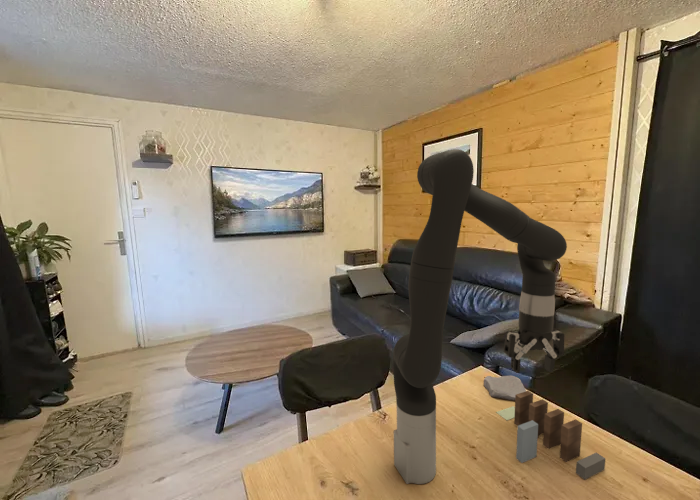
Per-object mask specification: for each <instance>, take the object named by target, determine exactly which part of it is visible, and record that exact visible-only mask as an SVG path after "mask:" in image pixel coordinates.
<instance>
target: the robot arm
mask: <svg viewBox="0 0 700 500" xmlns="http://www.w3.org/2000/svg"><path fill="white" fill-rule="evenodd" d="M416 172H417V174H416V175H417V176H416V178H417V182H418V184H419V186H420V188H421V189H422V190H423V191H424V192H425V193H427V194H429V195H432V198H431V205H430V212H429V216H428V219H427V222H426V224H425V227H424V229H423V231H422V232H421V234H420V236H419V238H418V240H417V243H416V244H415V246H414V249H413V251H412V255H411V261H410V267H409V273H408V274H409V275H408V284H407V285H408V300H409V301H408V302H409V309H410V329H409V333H408V334H405V335H403V336H401V337H400V338H399V339H398V340H397V341H396V343H395V344H394V347H393V351H392V363H393V364H392V368H393V386H394V392H395V398H396V399H395V400H396V401H395V402H396V405H395V406H396V429H394V430H393V465H394V466H395V468H396V469H397V472H398V473H399V474H400V476H401V477H402V479H403V480H404V482H405V484H406V485H407V484H408V485H409V484H417V485H423V484H427V483H430V482H432V481H433V480H434V478H435V476H436V473H437V394H436V391H435V388H434V384H433V383H434V382H436V380H437V379H438V377H439V375H440V372H441V368H442V362H443V361H442V360H443V359H442V358H443V356H442V355H443V342H444V340H443V338H444V326H445V322H446V315H447V310H448V304H449V297H450V292H451V287H452V282H453V276H454V270H455V263H456V257H457V256H456V255H457V250H458V245H459V239H460V233H461V227H462V224H463V219H464V218H463V217H464V214H465V212H466V213H467V214H468V215H470V216H472V217H474V218H475V219H476V220H478V221H480V222H481V223H483V224H484V225H485V226H488V227H489V228H490V229H491V230H493V231H494V232H496V234H498V235H500V236H501V237H502V238H504V239H505V240H507V241H509V242H512V243H515V244H516V245H517V246H516V248H517V249H516V250H517V256H518V263H519V267H520V270H521V273H522V274H521V275H522V279H521V280H522V281H521V293H520V297H519V306H518V307H519V312H518V323H517V324H518V331H517V332H511V331H509V330H507V331H505V339H504V343H503V344H504V345H503V346H504V347H503V353H504V354H505V355H506V356H508V357H509V358H510V368H511V369H512V371H513V372H514V373H515V374H520V373H521V372H520V371H521V358H522V357H523V356H524V355H525V354H527V353H528V352H529V351H536V350H538V351H544V352H545V353H546V354H544V366H543V367H544V369H545V370H546V371H547V372H550V373H552V372H554V371H553V370H554V369H555V366H556V365H555V364H556V358H557V357H559V356H561V357H563V356H564V355H565V334H564V333H563V332H562V331H559V330H557V329H554V322H555V321H554V320H555V309H556V308H555V307H556V299H555V293H556V289H555V288H556V273H555V272H554V271H553V270H552V269H549V268H547V267H546V266H545V264H544V263H545V262H544V261H546V262H551V261H552V262H553V261H557V260H560V259H561V258H562V257H563V256H564V255H565V254H566V252H567V248H568V244H567V241H566V238H565V236H564V235H563V234H562V233H561V232H559V231H558V230H556V229H555V228H552V227H551V226H549V225H547V224H545V223H542V222H540V221H538V220H536V219H533V218H532V217H530V216H529V215H528V214H527V213H525V212H524V211H522V210H521V209H520V208H518V207H517V206H516V205H515V204H513V203H511V202H509V201H508V200H506V199H503V198H501V197H500V196H497V195H495V194H492V193H490V192H488V191H486V190H483V189H481V188H479V187H478V186H476V185H475V184H473V181H474V172H475V170H474V163H473V159H472V158H471V156H470V155H469V154H468V153H467V152H466V151H464V150H462V149H458V148H457V149H456V148H455V149H448V150H444V151H440V152H438V153H435V154H431V155H430V156H429V155H428V156H427V157H426V158H425V159H423V160H422V161H421V163H420V164H419V166H418V168H417V171H416ZM550 341H552V345H551V344H550ZM522 346H523V347H522Z"/></svg>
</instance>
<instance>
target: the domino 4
mask: <svg viewBox="0 0 700 500" xmlns="http://www.w3.org/2000/svg"><path fill="white" fill-rule="evenodd" d="M564 420H565V412H564V411H563V410H561V409H559V408H557V409H554V410H551V411H549V412H548V411H547V413H545V418H544V433H543V436H542V437H543V439H542V440H543V441H542V446H544V447H545V448H547V449H548V450H550V449H552V448H556V447H557V446H560V444H561V429H562V424H565V421H564Z"/></svg>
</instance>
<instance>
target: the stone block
mask: <svg viewBox="0 0 700 500" xmlns="http://www.w3.org/2000/svg"><path fill="white" fill-rule="evenodd" d="M483 386H484V388H485V389H486V390H487V391H488V392H489V393H488V394H489V395H490V397H493V398H497V399H505V400H510V401H515V395H516V394H519V393H522V392H526V391H527V390H526V388H525V386H524V384H523V382H522V380H521V379H520V378H519V377H517V376H515V375H502V376H499V377H497V376H496V377H495V376H492V375H486V376H485V377H484V378H483Z"/></svg>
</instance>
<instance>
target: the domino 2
mask: <svg viewBox="0 0 700 500" xmlns="http://www.w3.org/2000/svg"><path fill="white" fill-rule="evenodd" d="M516 432H517V434H516V435H517V436H516V456H515V459H516V460H518V462H520V463H521V464H523V463H526V462H527V461H530V460H532V459H534V458H537V456H538V455H537V453H538V452H537V451H538V436H539V435H538V424H537V423H536V422H534V421H533V420H532V421H529V422H526V423H524V424H521V425H518V426H517V430H516Z"/></svg>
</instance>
